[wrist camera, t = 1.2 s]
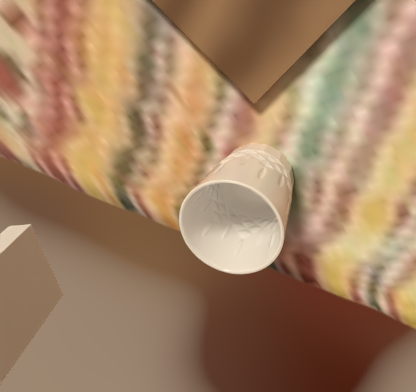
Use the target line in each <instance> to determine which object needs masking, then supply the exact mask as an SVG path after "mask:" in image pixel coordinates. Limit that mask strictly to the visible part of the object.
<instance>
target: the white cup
mask: <svg viewBox="0 0 416 392" xmlns="http://www.w3.org/2000/svg"><path fill="white" fill-rule="evenodd" d="M293 184H294V177H293V171H292V166H291V164H290V163H289V161H288V160H287V159H286V157H285V156H284V154H283V153H282V152H280V151H279V150H277V149H275V148H273V147H272V146H270V145H268V144H260V143H249V144H246V145H243V146H241V147H238V148H236V149H235V150H234V151H233V152H232V153H231V154H230V155H229V156H228V157H226V158H225V159H223V160H222V161H221V162H220V163H219V164H218V165H217V166H216V167H215V168H214V169H213V170H212V171H211V172H210V173H209V174H208V175H207V176H206V177H205V178H204V179H203V180H202V181H201V182H200V183H199V184H198V185H197V186H196V187H195V188H194V189H193V190H192V191H191V192H190V193H189V194H188V195H187V196H186V198H185V199H184V201H183V203H182V206H181V209H180V214H179V224H180V230H181V233H182V236H183V238H184V240H185V242H186V244H187V245H188V247H189V248H190V250H191V251H192V252H193V253H194V254H195V255H196V256H197V257H198V258H199V259H200V260H202V261H203V262H204V263H206V264H208V265H209V266H211V267H213V268H215V269H217V270H220V271H223V272H226V273H232V274H249V273H254V272H257V271H260V270H262V269H264V268H266V267H267V266H269V265H270V264H271V263H272V262H273V261H274V260H275V259H276V258H277V257H278V255H279V254H280V252H281V249H282V247H283V243H284V238H285V232H286V227H287V222H288V217H289V213H290V207H291V200H292V189H293Z"/></svg>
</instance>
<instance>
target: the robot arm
mask: <svg viewBox="0 0 416 392" xmlns="http://www.w3.org/2000/svg"><path fill="white" fill-rule="evenodd" d="M62 296H63V293H62V290H61V288H60V286H59V284H58V282H57V280H56V277H55V275H54V273H53V271H52V269H51V267H50V264H49V262H48V260H47V258H46V256H45V254H44V251H43V249H42V247H41V245H40V243H39V241H38V239H37V236H36V234H35V232H34V230H33V228H32V226H31V225H30V224H29V225H17V226H9V227H8V228H7V229H5V230H4V231H3V232H2V233H1V234H0V384H1V383H2V381H3V379H4V378H5V377H6V375H7V374H8V373H9V371H10V370H11V368H12V367H13V365H14V364H15V363H16V361H17V360H18V358H19V357H20V355H21V354H22V353H23V351H24V350H25V348H26V347H27V345H28V344H29V343H30V341H31V340H32V338H33V337H34V335H35V334H36V332H37V331H38V330H39V328H40V327H41V326H42V324H43V323H44V321H45V320H46V318H47V317H48V316H49V314H50V313H51V311H52V310H53V308H54V307H55V306H56V304H57V303H58V301H59V300H60V298H61V297H62Z"/></svg>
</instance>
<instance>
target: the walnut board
mask: <svg viewBox="0 0 416 392" xmlns="http://www.w3.org/2000/svg"><path fill="white" fill-rule="evenodd" d="M152 1H153V2H154V3H155V4H156V5H157V6H158V7H159V8H160V9H161V10H162V11H163V12H164V13H165V15H166V16H167V17H168V18H169V19H170V20H171V21H172V22H173V23H174V24H175V25H176V26H177V27H178V28H179V29H180V30H181V31H182V32H183V33H184V34H185V35H186V36H187V37H188V38H189V39H190V40H191V41H192V42H193V43H194V44H195V45H196V46H197V47H198V48H199V49H200V50H201V51H202V52H203V53H204V54H205V55H206V56H207V57H208V58H209V59H210V60H211V61H212V62H213V63H214V64H215V65H216V66H217V67H218V68H219V69H220V70H221V71H222V72H223V73H224V74H225V75H226V76H227V77H228V78H229V79H230V80H231V81H232V82H233V83H234V84H235V85H236V86H237V87H238V88H239V89H240V90H241V91H242V92H243V93H244V94H245V95H246V96H247V98H248V99H249V100H250V101H251V102H252V103H253V104H255V103H256V102H257V101H258V100H259V99H260V98H261V97H262V96H263V95H264V94H265V93H266V91H267V90H268V89H269V88H270V87H271V86H272V85H273V84H274V83H275V82H276V81H277V80H278V79H279V78H280V77H281V76H282V75H283V74H284V73H285V72H286V71H287V70H288V69H289V68H290V67H291V66H292V65H293V64H294V63H295V62H296V61H297V60H298V59H299V58H300V57H301V56H302V55H303V54H304V53H305V51H306V50H307V49H308V48H309V47H310V46H311V45H312V44H313V43H314V42H315V41H316V40H317V39H318V38H319V37H320V36H321V35H322V34H323V33H324V32H325V31H326V30H327V29H328V28H329V27H330V26H331V25H332V24H333V23H334V22H335V21H336V20H337V19H338V18H339V17H340V16H341V15H342V14H343V13H344V12H345V10H346V9H347V8H348V7H349V6H350V5H351V4H352V3H353V2H354V1H355V0H152Z"/></svg>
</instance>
